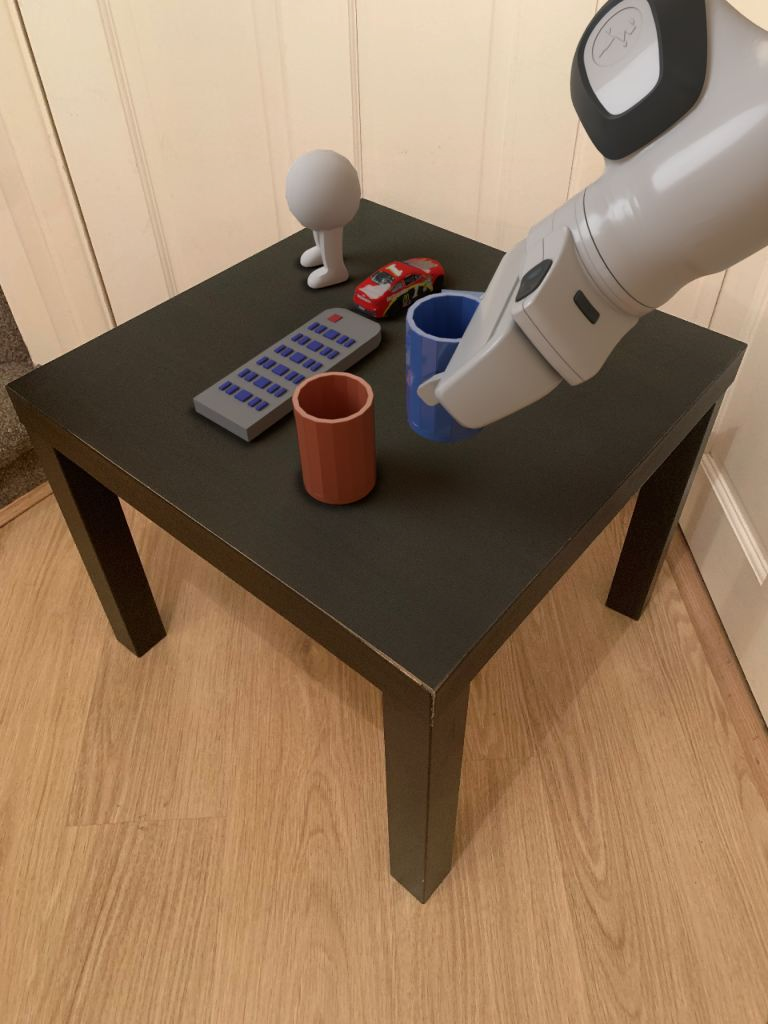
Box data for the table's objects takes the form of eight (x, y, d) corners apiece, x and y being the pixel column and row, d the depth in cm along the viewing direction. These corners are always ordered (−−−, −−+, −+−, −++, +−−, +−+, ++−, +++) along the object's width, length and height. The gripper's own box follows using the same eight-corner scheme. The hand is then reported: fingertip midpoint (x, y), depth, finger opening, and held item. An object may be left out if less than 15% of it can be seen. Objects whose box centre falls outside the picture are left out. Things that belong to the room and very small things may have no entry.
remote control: (196, 412, 83) (191, 396, 82) (337, 315, 95) (336, 299, 93) (248, 443, 80) (245, 427, 78) (389, 338, 91) (388, 322, 90)
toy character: (288, 258, 104) (275, 141, 93) (355, 248, 106) (350, 132, 95) (300, 294, 98) (287, 174, 87) (371, 283, 100) (367, 164, 89)
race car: (422, 268, 102) (423, 239, 99) (453, 283, 99) (454, 254, 96) (346, 308, 96) (344, 278, 93) (376, 326, 93) (376, 296, 90)
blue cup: (489, 394, 67) (499, 295, 60) (484, 446, 63) (493, 345, 56) (412, 388, 68) (412, 289, 61) (401, 438, 63) (400, 338, 56)
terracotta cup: (381, 457, 78) (379, 375, 71) (369, 508, 73) (365, 426, 66) (312, 450, 79) (303, 368, 71) (295, 500, 74) (283, 418, 67)
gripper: (588, 165, 58) (453, 266, 67) (523, 315, 45) (367, 414, 54) (637, 232, 60) (500, 321, 69) (589, 394, 47) (427, 475, 56)
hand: (441, 363), depth 62 cm, fingers closed on blue cup, 7 cm apart
